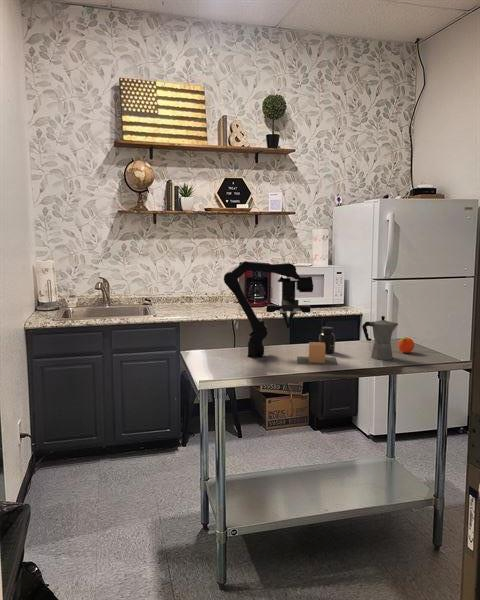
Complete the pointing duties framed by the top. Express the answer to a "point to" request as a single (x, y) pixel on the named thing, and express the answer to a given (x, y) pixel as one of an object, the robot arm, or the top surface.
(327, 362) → the dark gray mat
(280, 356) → the top surface
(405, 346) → the clementine
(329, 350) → the supplement bottle
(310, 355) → the rounded wooden cube
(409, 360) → the top surface
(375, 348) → the coffeepot
